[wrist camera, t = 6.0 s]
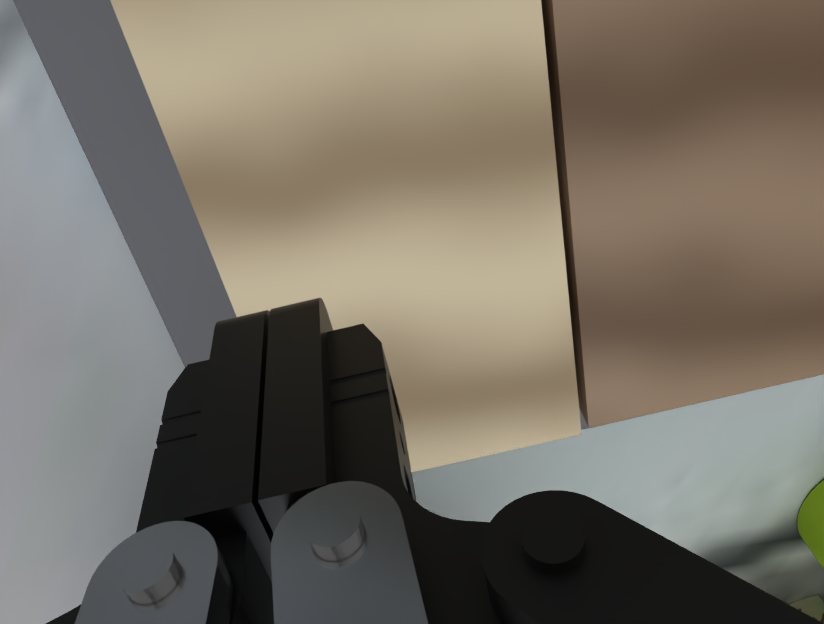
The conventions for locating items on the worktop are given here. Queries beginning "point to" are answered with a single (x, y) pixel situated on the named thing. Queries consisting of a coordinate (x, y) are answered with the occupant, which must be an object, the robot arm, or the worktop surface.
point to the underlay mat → (133, 164)
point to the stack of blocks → (811, 607)
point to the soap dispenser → (813, 522)
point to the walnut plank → (689, 196)
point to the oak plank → (383, 191)
